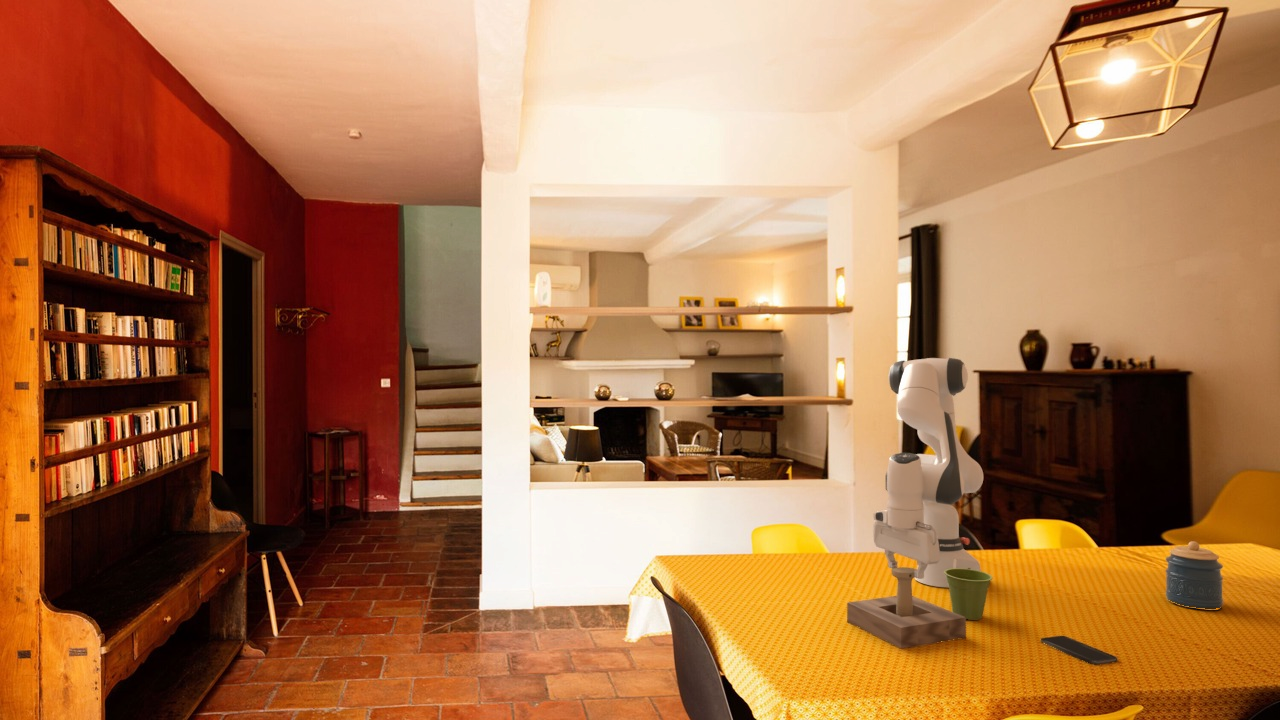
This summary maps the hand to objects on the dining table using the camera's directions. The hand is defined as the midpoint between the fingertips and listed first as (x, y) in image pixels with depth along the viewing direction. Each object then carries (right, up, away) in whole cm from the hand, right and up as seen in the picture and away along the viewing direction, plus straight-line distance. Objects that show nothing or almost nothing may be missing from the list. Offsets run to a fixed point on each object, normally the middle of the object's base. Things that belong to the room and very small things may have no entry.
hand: (905, 572), depth 187 cm
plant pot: (+20, -15, +10) cm, 27 cm away
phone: (+35, -15, -14) cm, 41 cm away
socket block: (0, -14, 0) cm, 14 cm away
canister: (+89, -15, +21) cm, 93 cm away
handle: (0, -14, 0) cm, 14 cm away
